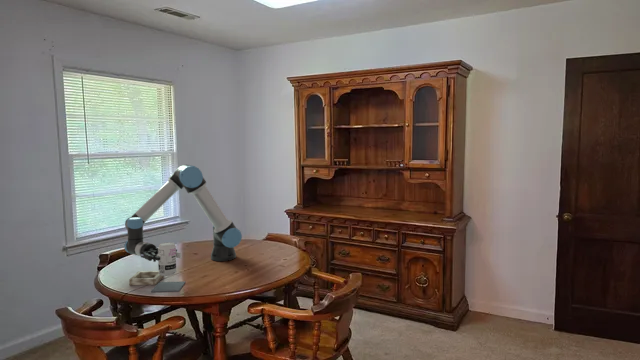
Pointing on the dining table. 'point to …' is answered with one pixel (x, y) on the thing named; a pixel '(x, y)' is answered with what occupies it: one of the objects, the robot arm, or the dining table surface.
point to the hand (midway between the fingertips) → (173, 257)
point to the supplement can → (167, 259)
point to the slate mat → (168, 287)
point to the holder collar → (145, 278)
